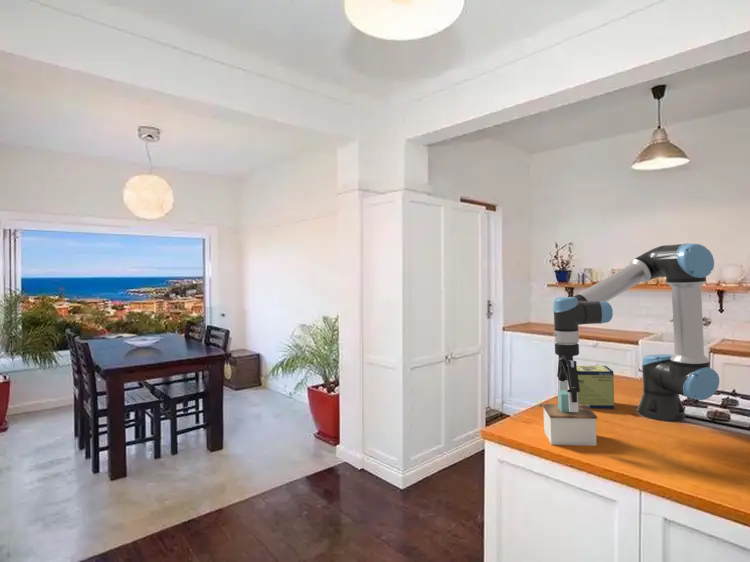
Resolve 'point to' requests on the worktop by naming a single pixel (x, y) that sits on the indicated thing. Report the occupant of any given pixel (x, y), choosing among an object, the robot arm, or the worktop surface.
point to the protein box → (596, 386)
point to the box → (570, 430)
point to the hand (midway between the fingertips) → (568, 405)
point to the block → (563, 400)
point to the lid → (582, 413)
